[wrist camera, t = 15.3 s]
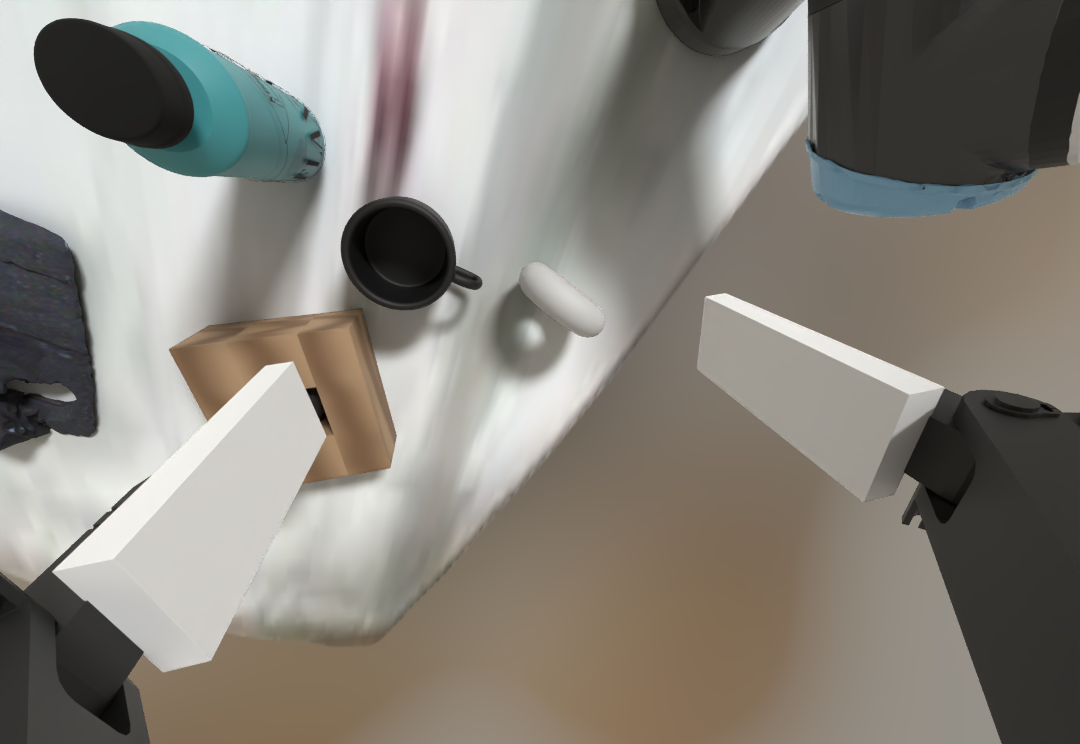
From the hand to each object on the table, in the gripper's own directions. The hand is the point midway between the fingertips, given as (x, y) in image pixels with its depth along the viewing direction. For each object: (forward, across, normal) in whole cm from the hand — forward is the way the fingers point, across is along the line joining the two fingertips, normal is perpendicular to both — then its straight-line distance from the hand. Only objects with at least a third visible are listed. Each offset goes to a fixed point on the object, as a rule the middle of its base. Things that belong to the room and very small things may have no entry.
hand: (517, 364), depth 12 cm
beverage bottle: (+30, -14, +10) cm, 34 cm away
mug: (+30, -6, -1) cm, 30 cm away
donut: (+30, +7, -6) cm, 32 cm away
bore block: (+29, -20, -13) cm, 38 cm away
